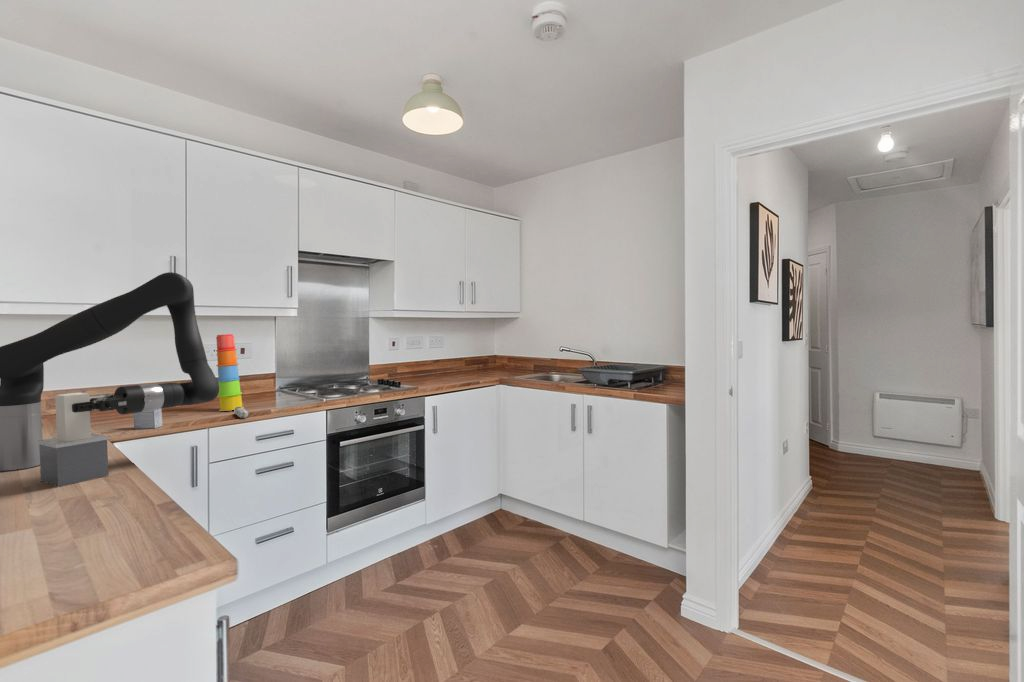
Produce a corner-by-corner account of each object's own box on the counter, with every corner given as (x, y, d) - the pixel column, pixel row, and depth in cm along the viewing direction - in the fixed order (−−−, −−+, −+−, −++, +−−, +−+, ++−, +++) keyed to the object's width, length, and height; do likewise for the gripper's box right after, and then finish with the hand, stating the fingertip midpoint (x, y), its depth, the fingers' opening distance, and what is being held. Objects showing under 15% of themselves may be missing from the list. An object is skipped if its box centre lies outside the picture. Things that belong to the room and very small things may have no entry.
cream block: (56, 439, 126) (55, 394, 126) (81, 435, 130) (80, 392, 130) (66, 441, 123) (64, 395, 123) (90, 437, 128) (89, 393, 127)
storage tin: (39, 481, 125) (37, 440, 125) (90, 470, 134) (89, 432, 134) (57, 487, 120) (55, 444, 120) (109, 475, 129) (108, 436, 129)
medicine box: (162, 426, 195) (162, 403, 195) (155, 428, 191) (154, 405, 191) (141, 426, 195) (140, 404, 195) (133, 429, 191) (132, 406, 190)
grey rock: (231, 415, 221) (231, 399, 221) (243, 413, 224) (243, 398, 223) (238, 420, 206) (238, 404, 206) (251, 419, 209) (251, 403, 209)
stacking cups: (229, 412, 226) (227, 334, 225) (213, 411, 229) (210, 334, 228) (249, 408, 235) (246, 333, 234) (232, 408, 239) (230, 334, 238)
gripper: (126, 383, 143) (52, 390, 129) (152, 385, 136) (77, 393, 122) (127, 410, 143) (53, 420, 129) (153, 414, 136) (78, 424, 122)
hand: (65, 407), depth 125 cm, fingers open, 8 cm apart
